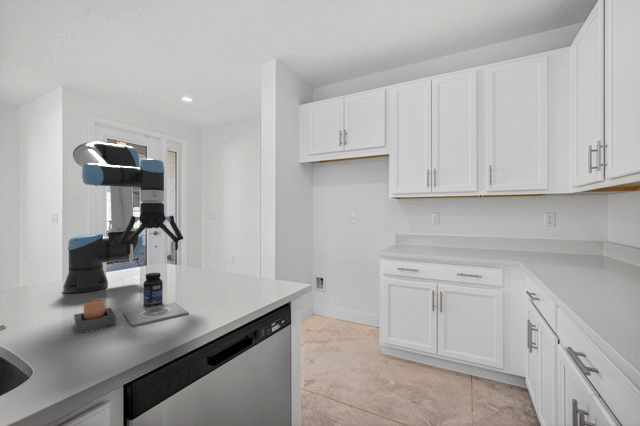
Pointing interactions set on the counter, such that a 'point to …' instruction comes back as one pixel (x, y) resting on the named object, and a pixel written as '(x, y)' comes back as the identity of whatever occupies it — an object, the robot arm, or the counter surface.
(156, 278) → the pill bottle
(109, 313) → the button housing
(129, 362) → the counter surface
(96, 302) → the button
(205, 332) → the counter surface
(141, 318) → the board
